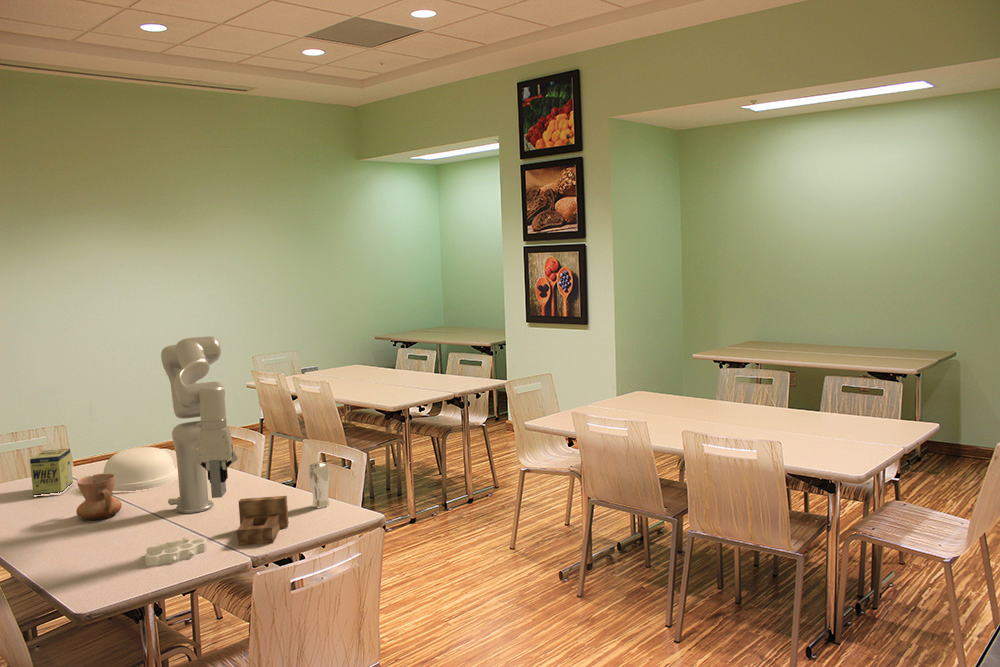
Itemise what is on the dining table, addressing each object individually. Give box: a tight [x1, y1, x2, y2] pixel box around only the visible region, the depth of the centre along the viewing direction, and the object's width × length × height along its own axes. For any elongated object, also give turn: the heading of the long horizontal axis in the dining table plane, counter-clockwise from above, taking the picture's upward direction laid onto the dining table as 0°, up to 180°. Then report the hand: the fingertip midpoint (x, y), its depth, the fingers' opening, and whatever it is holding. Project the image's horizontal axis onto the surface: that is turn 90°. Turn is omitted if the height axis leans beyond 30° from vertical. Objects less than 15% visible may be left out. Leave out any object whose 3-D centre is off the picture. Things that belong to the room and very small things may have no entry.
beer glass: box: [308, 462, 331, 508], centre depth 282 cm, size 7×7×15 cm
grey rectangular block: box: [209, 460, 227, 499], centre depth 249 cm, size 3×6×12 cm, turn 6°
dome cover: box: [102, 446, 178, 491], centre depth 324 cm, size 32×30×14 cm
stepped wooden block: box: [236, 495, 290, 547], centre depth 253 cm, size 15×17×10 cm
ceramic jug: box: [76, 472, 123, 521], centre depth 280 cm, size 18×14×14 cm
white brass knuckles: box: [144, 537, 208, 567], centre depth 239 cm, size 3×18×15 cm
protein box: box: [29, 448, 74, 495], centre depth 316 cm, size 10×16×16 cm
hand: (218, 481), depth 249 cm, fingers closed on grey rectangular block, 3 cm apart
